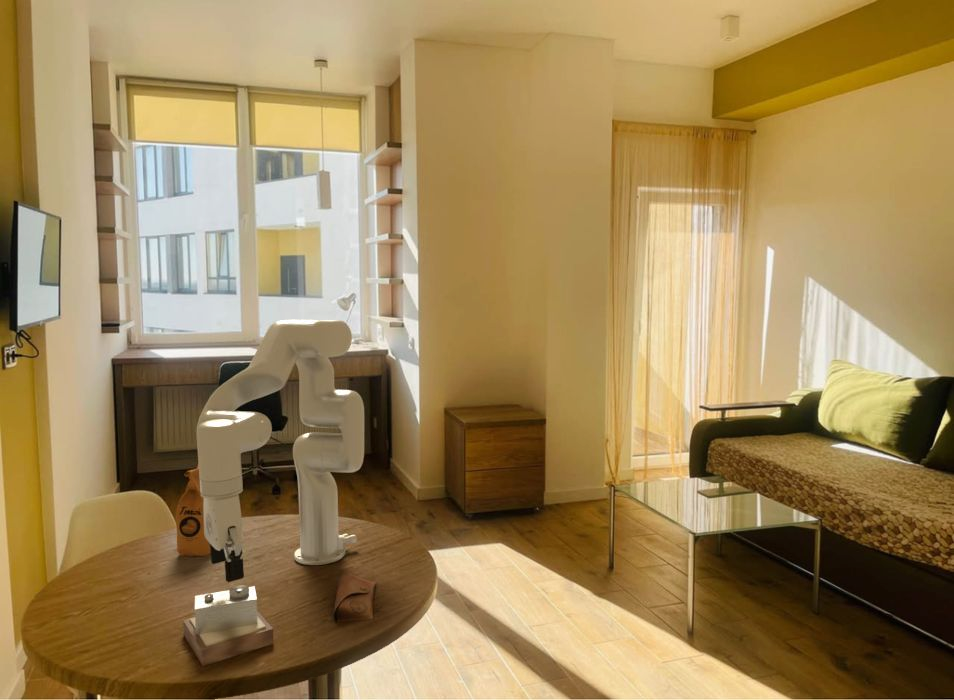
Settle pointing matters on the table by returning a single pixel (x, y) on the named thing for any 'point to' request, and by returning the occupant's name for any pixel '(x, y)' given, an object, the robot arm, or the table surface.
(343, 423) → the robot arm
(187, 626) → the stand
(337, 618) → the sunglasses case
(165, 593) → the table surface
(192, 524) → the coffee package
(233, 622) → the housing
